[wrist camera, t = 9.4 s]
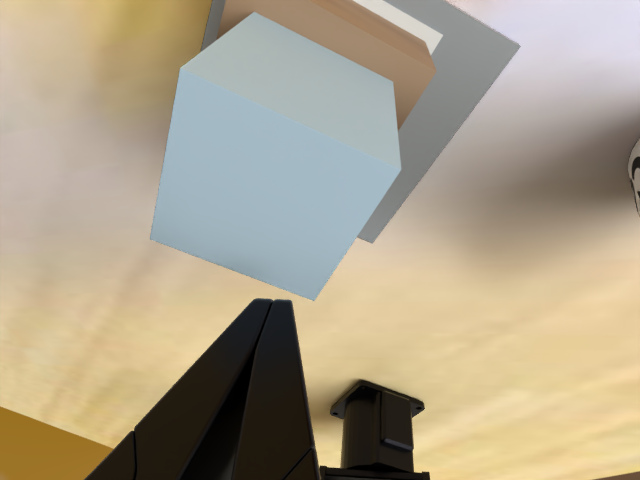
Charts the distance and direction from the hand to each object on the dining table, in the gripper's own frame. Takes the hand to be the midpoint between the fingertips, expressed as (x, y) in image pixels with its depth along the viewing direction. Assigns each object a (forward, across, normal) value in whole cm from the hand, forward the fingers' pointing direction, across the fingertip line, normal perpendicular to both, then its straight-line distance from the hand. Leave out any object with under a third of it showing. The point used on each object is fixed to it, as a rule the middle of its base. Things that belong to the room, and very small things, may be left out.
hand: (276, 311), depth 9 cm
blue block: (+8, +1, -1) cm, 8 cm away
